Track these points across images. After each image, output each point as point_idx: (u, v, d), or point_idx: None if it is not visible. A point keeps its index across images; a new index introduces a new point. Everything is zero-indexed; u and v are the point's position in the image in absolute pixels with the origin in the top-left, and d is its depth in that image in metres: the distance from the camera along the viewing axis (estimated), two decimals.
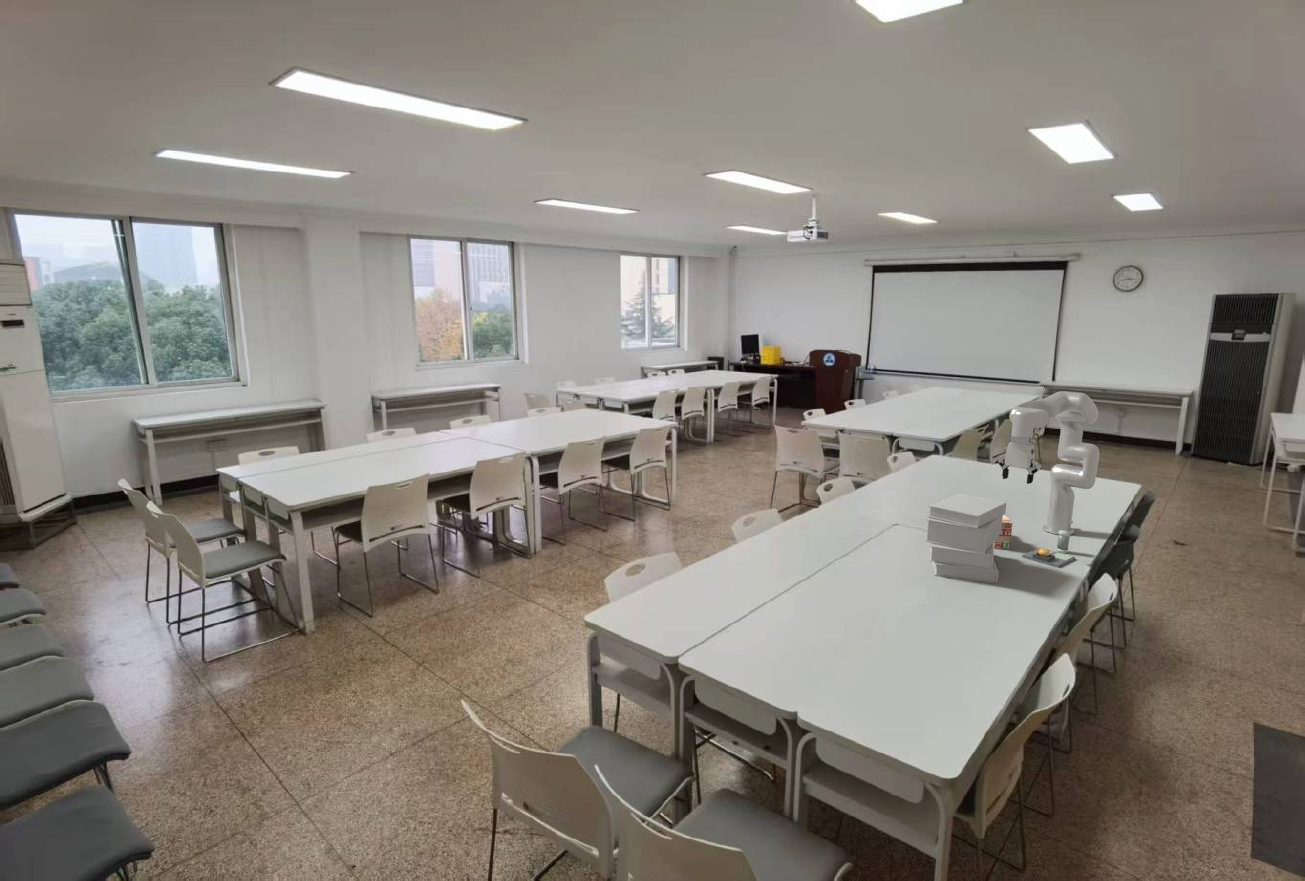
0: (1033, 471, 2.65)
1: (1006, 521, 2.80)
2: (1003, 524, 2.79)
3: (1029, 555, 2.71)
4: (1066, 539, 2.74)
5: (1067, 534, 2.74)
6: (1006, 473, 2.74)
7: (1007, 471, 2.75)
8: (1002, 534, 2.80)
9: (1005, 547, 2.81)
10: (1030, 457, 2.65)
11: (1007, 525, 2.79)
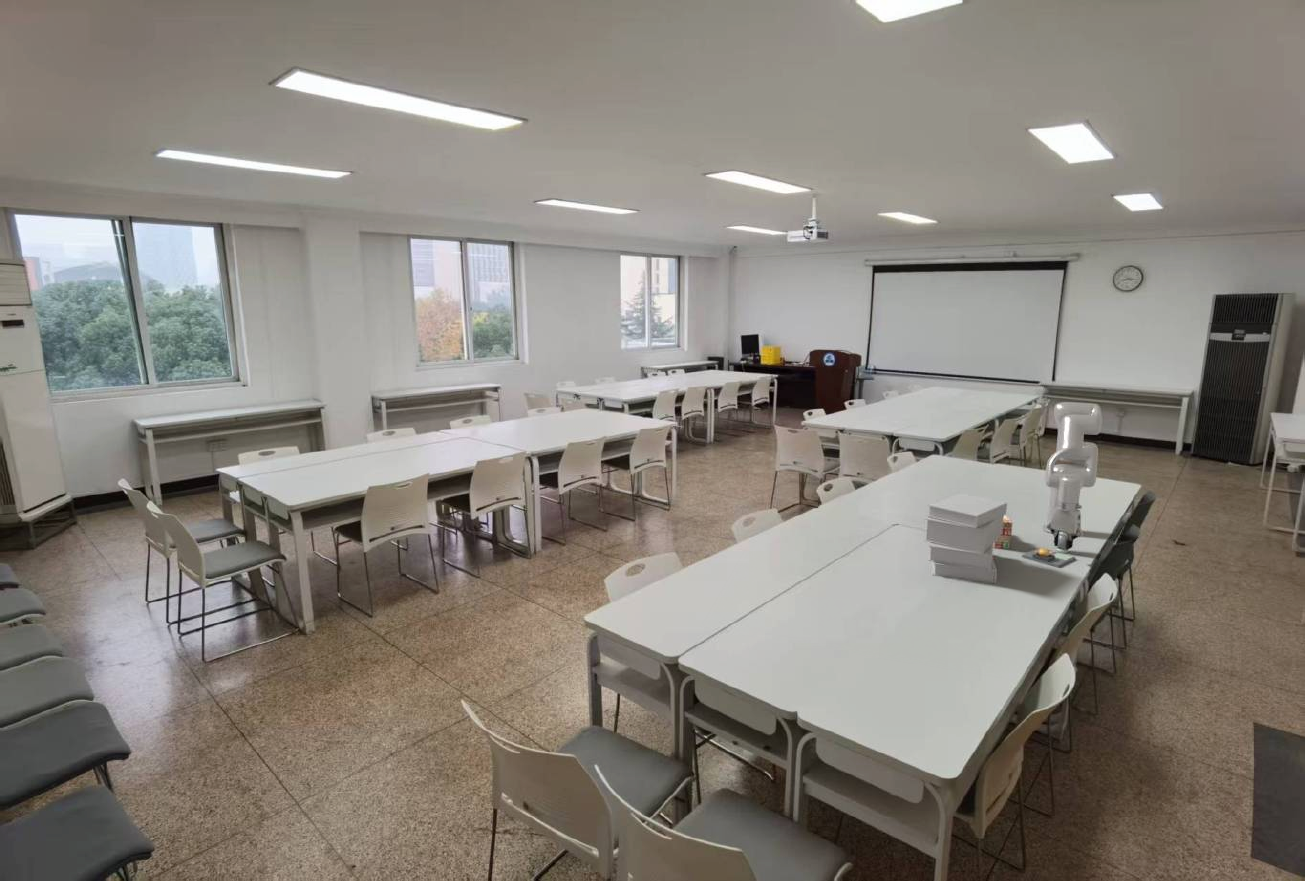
0: (1073, 539, 2.72)
1: (1006, 521, 2.81)
2: (1003, 524, 2.80)
3: (1029, 555, 2.71)
4: (1066, 539, 2.74)
5: (1067, 534, 2.74)
6: None
7: None
8: (1002, 534, 2.81)
9: (1005, 547, 2.81)
10: (1077, 522, 2.70)
11: (1007, 525, 2.79)
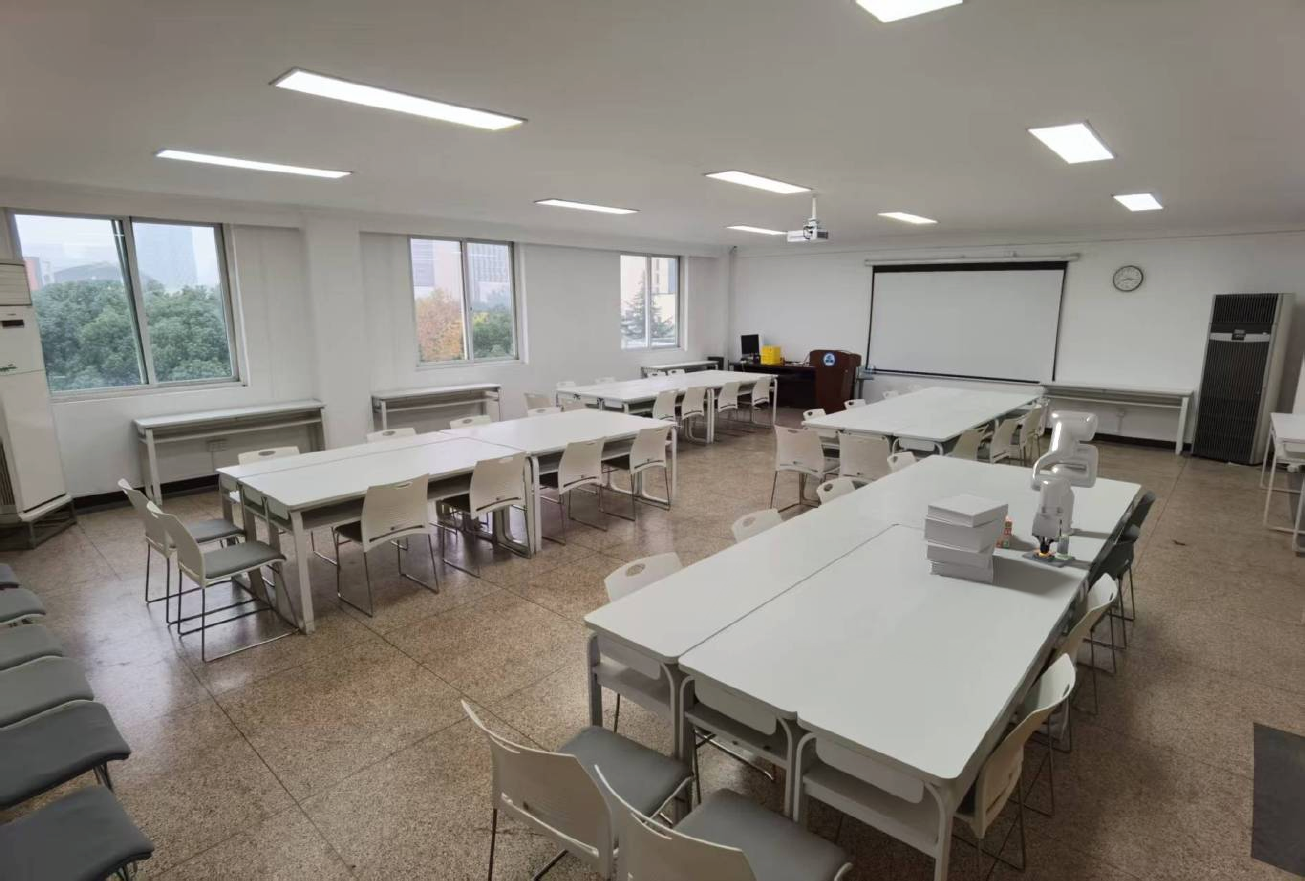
0: None
1: (1006, 520, 2.82)
2: None
3: (1029, 555, 2.71)
4: (1066, 543, 2.66)
5: (1066, 538, 2.66)
6: None
7: None
8: None
9: (1005, 546, 2.83)
10: (1058, 527, 2.60)
11: (1007, 524, 2.81)
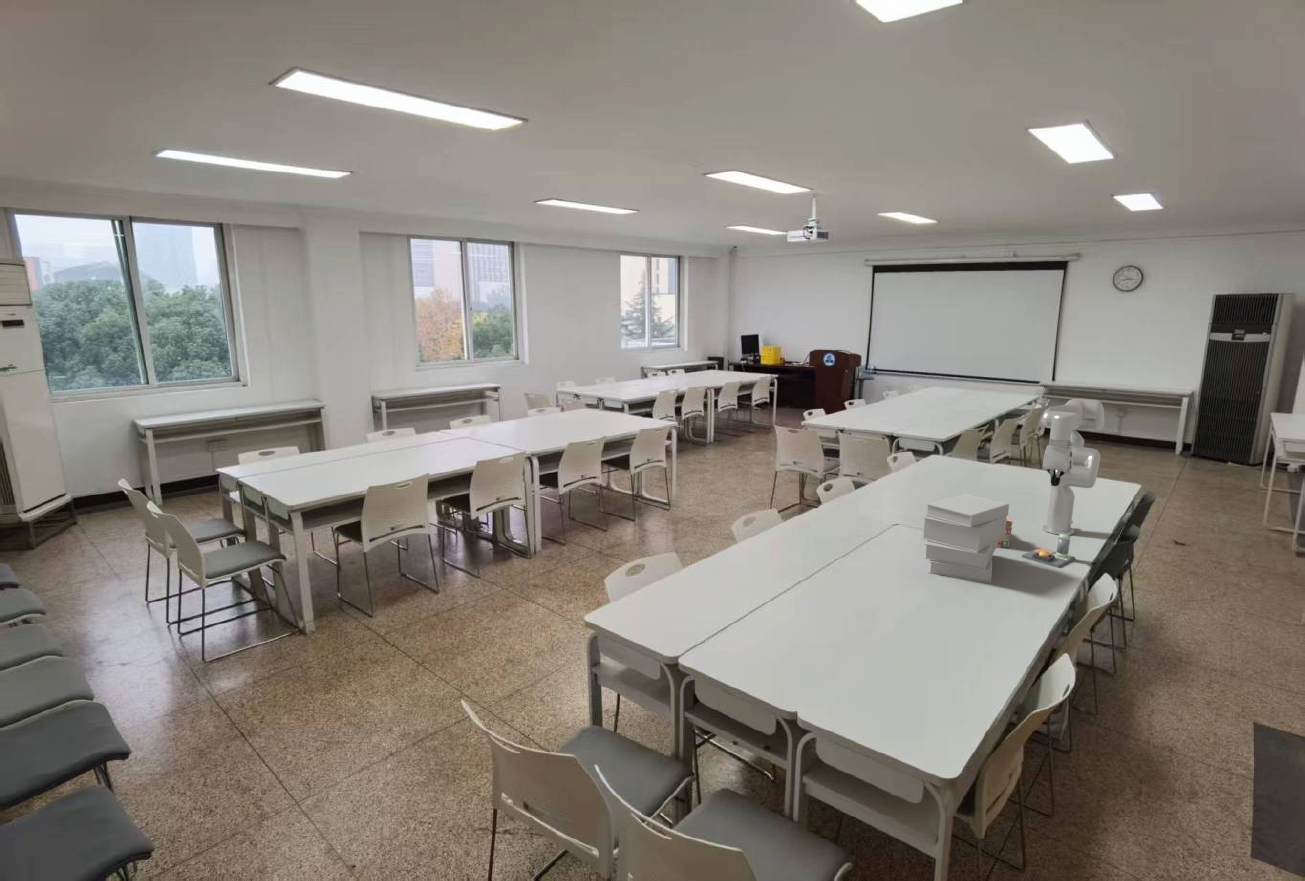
0: (1060, 476, 2.76)
1: None
2: None
3: (1029, 555, 2.71)
4: (1066, 543, 2.66)
5: (1067, 538, 2.66)
6: None
7: None
8: None
9: (1005, 545, 2.83)
10: (1069, 460, 2.72)
11: (1007, 523, 2.81)
